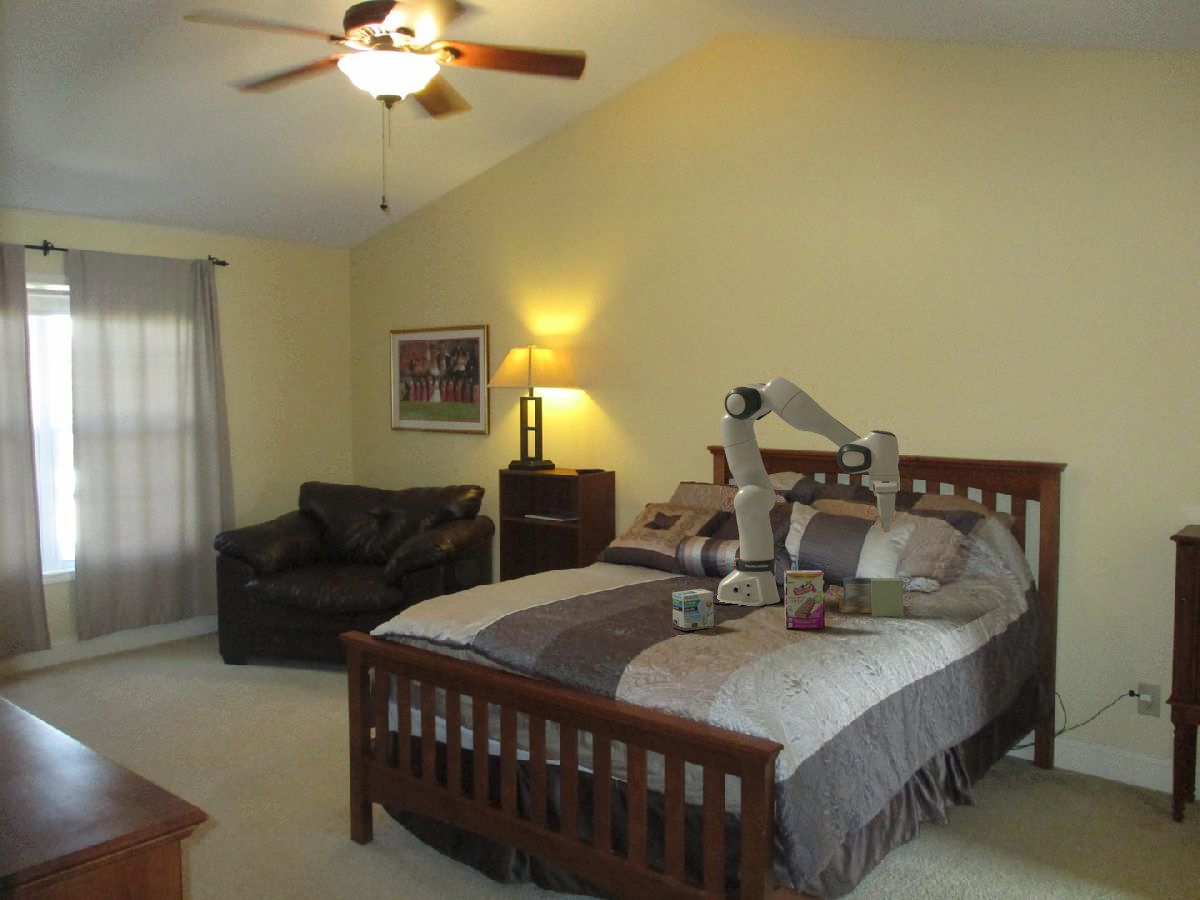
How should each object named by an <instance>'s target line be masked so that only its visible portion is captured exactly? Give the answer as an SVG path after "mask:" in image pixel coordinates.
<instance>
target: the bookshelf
mask: <svg viewBox="0 0 1200 900" xmlns="http://www.w3.org/2000/svg"><path fill="white" fill-rule="evenodd" d="M871 578H872V577H843V579H842V581H843V582H842V583H843V598H841V599H839V598H838V607H839V613H859V614H860V613H861V614H862V613H864V614H870V613H871V614H872V602H871Z"/></svg>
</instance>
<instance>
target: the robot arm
mask: <svg viewBox="0 0 1200 900" xmlns="http://www.w3.org/2000/svg"><path fill="white" fill-rule="evenodd" d="M724 408H725V412H726V413H724V415H723V416H721V418H720V421H719V425H720V426H719V427H720V428H719V429H720V436H721V441H722V445H723V449H724V454H725V457H726V461H727V464H728V467H729V472H730V473H731V475H732V476H733V479H734V480H735V483H736V485H737V488H738V491H737V492H736V494H735V496H734V499H733V507H734V510H735V517H736V523H737V529H738V535H739V536H738V537H739V538H738V539H739V557H736V558H734V559H733V569H734V570H733V571H731V572H730V573H728V575H726V576H725V577H724V578H723V579H722V580H721V581H720V582H719V583H718V584H719V585H718V588H717V594H718V595H717V594H716V595H717V599H718V600H720V601H719V602H725V603H732V604H738V605H737V606H741V605H746V606H745V607H762V606H764V605H765V604H766V605H772V604H776V603H779V602H780V601H781V598H780V596H779V592H778V591H779V590H778V588H777V583H776V573H777V565H776V564H777V563H776V558H775V556H774V554H775V553H774V552H775V551H774V549H775V547H774V533H773V530H772V524H771V518H770V511H772V509H774V506H775V504H776V499H777V496H776V492H775V490H774V487H773V485H772V482H771V479H770V477H769V475H768V471H767V470H766V467H765V465H764V462H763V459H762V455H761V451H760V448H759V443H758V440H757V436H756V432H755V430H754V428H755V427H754V424H755V422H756V421H760V420H761V419H763V418H764V417H766V416H767V415H768V414H770V413H771V412H773V413H774V414H776V415H777V416H778V417H779V418H780V419H781V420H783V421H784V422H785V423H786V424H788V425H789V426H791V427H793V428H794V429H796V430H798V431H803V432H808V433H813V434H814V433H815V434H818V435H820V436H823V437H824V438H827V439H828V440H830V442H832V443H833V444H835V445H836V446H837V447H839V449H838V451H837V454H836V461H837V465H838V466H839V469H840V470H842V471H844V472H845V473H848V474H852V475H854V474H855V475H856V474H863V473H868V487H869V491H872V492H873V496H874V497H876V500H877V501H876V507H877V513H878V514H879V516H880V521H881V528H882V529H883V533H890V532H891V519H893V518H894V516H895V508H896V507H895V506H896V493H898V491H900V490H901V487H900V486H901V482H900V481H901V480H900V477H901V476H900V471H899V463H900V449H899V443H898V439H897V436H896V435H895V434H894V433H893V432H891V431H886V430H878V429H875V430H871V431H870V432H869V433H868V434H866V435H865V436H862V437H861V436H860V435H858V434H856V433H855V432H854V431H852V430H851V429H849V428H848V427H847V426H845V424H843V423H842V422H840V421H839V420H838V419H836V418H835V417H834V416H832V415H831V414H830V413H829V412H828V411H826V410H825V408H823V407H822V406H821V405H820V404H819V403H818V401H817V402H816V400H815V399H813V398H812V397H811V396H810V395H809V394H808V393H807V392H805V391H804V390H803V389H802V388H800V387H799V386H798V385H796V384H794V383H793V382H792V381H789V380H788V379H786V378H783V377H781V376H776V377H773V378H771V379H770V380H768V381H767V382H766V383H762V382H761V383H759V382H758V383H749V384H746V385H742V386H737V387H735V388H733V389H732V390H730V391H729V392H728V393H727V394H726V395H725V398H724Z"/></svg>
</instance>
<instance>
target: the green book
mask: <svg viewBox="0 0 1200 900" xmlns="http://www.w3.org/2000/svg"><path fill="white" fill-rule="evenodd" d="M870 578H871V602H872V613H871V617H873V618H874V617H876V618H878V617H877V616H899V617H898V618H904V616H905V615H904V613H905V612H904V579H903V578H901V577H900V578H898V577H897V578H896V577H895V578H891V577H888V578H887V577H883V578H882V577H877V578H876V577H870Z"/></svg>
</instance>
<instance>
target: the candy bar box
mask: <svg viewBox="0 0 1200 900" xmlns="http://www.w3.org/2000/svg"><path fill="white" fill-rule="evenodd" d="M783 575H784V576H783V581H784V582H783V583H784V585H783V587H784V591H783V592H784V626H785V628H793V629H792V630H825V626H826V624H825V623H826V622H825V619H826V616H825V615H826V614H825V610H826V609H825V608H826V607H825V573H824V571H823V570H784V572H783Z"/></svg>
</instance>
